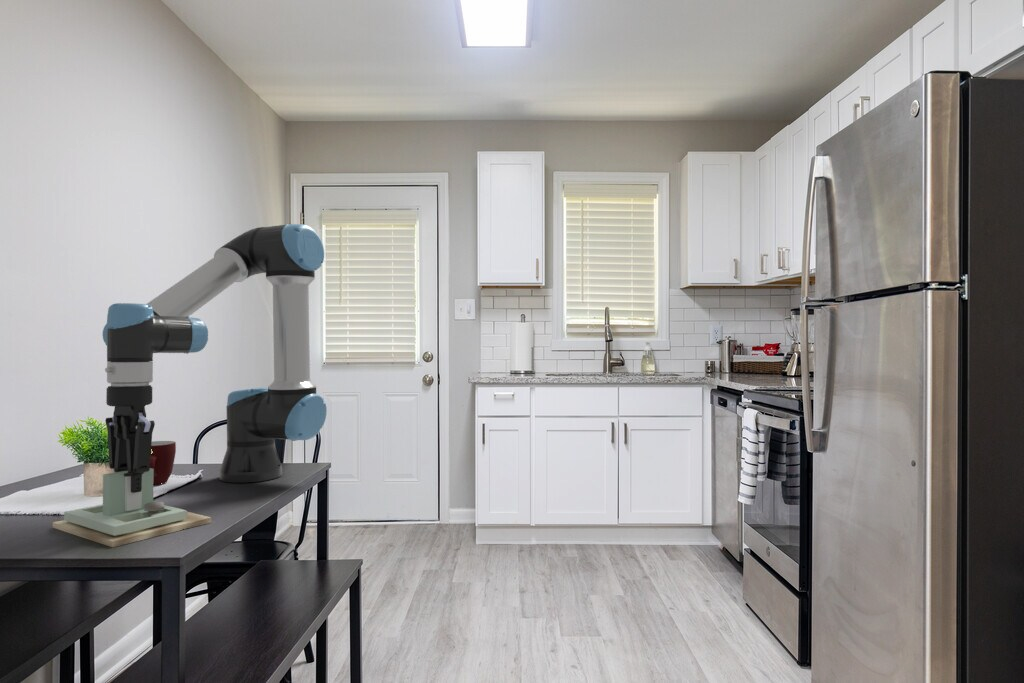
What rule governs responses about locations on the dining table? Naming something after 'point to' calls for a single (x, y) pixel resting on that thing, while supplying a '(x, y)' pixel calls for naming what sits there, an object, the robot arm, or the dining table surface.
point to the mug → (162, 460)
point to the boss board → (137, 535)
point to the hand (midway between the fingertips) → (128, 507)
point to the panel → (122, 519)
